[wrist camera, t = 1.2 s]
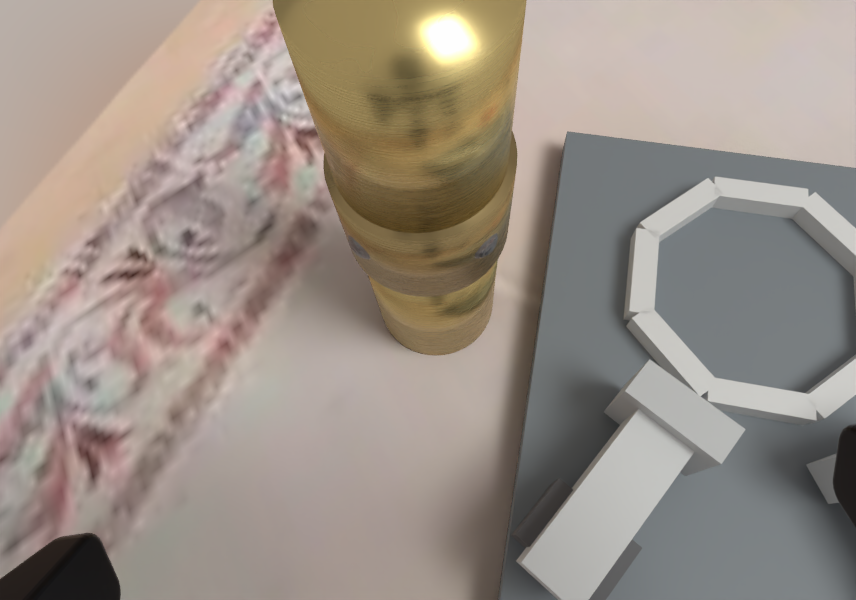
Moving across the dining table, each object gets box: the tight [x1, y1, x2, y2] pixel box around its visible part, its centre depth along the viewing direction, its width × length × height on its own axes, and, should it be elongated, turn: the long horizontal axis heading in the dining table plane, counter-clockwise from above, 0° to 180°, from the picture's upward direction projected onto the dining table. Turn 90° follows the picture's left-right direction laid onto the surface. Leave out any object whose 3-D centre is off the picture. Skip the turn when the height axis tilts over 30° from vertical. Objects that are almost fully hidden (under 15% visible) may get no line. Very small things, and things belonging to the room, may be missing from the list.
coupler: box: [273, 0, 526, 355], centre depth 16 cm, size 5×5×14 cm
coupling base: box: [498, 132, 856, 600], centre depth 18 cm, size 20×14×4 cm
